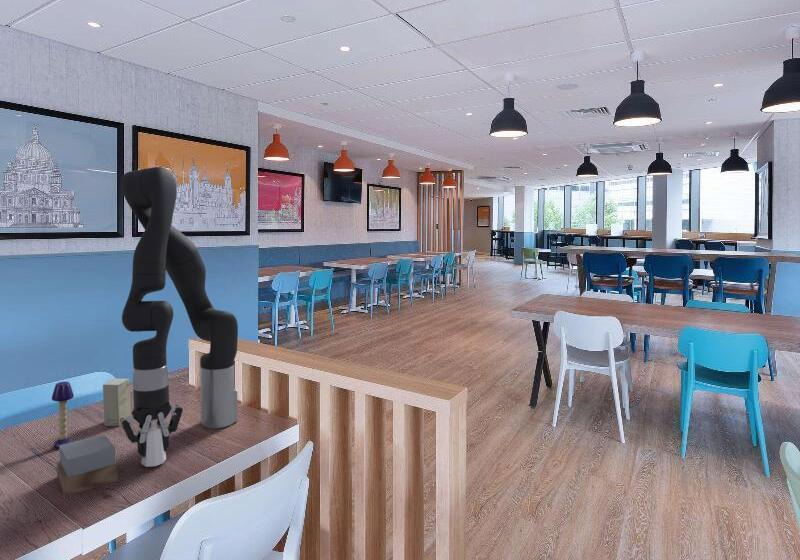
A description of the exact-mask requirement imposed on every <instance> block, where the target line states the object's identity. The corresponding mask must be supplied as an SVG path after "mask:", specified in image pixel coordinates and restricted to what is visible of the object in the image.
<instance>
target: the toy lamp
mask: <svg viewBox="0 0 800 560" xmlns="http://www.w3.org/2000/svg"><path fill="white" fill-rule="evenodd" d="M71 385H72V384H71V383H70V382H69V381H60V382H59V381H58V382H57V383H56V384H55V385H54V388H53V392H52V396H51V400H52V401H54V402H58V410H59V411H58V415H59V417H58V421H59V424H58V428H59V429H58V434H59V435H58V439H57V440H55V442H54V444H53V449H55V450H59V445H63V444H67V443H71V442H74V441H73V439H71V438H70V437H68V433H67V432H68V428H67V427H68V417H67V414H68V410H67V409H68V404H67V403H68V401H70V400H71V399H74V396H75V395H74V392H73V389H72V386H71Z"/></svg>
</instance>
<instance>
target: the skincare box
mask: <svg viewBox="0 0 800 560" xmlns="http://www.w3.org/2000/svg"><path fill="white" fill-rule="evenodd" d="M130 391H131V389H130V378H123V377H122V378H113V379H111V380H110V381H107V382H105V383H104V384H102V393H103V394H102V397H103V417H104V426H105V427H108V426H109V427H120V426H122V425H121V423H120V419H121V418H127V417H128V416H130V415H132V411H131V392H130Z"/></svg>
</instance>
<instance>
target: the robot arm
mask: <svg viewBox="0 0 800 560" xmlns="http://www.w3.org/2000/svg"><path fill="white" fill-rule="evenodd" d="M120 186H121V190H122V194H123V197H124V199H125V200H126V203H127V204H128V206H129V208H130V209H131V211H132V212H133V214H134V215H135V217H136V218H137V220H138V222H139V223H140V224H141V226H142V228H143V229H144V232H143V233H142V235H141V236H140V238H139V241H138V243H137V245H136V247H135V249H134V252H133V257H132V274H131V276H132V277H131V284H130V285H131V286H130V290H129V294H128V297H127V300H126V302H125V304H124V307H123V311H122V314H121V323H122V326H123V327H124V328H125V330H127V331H129V332H133V333H134V332H140V333H141V332H156V333H155V336H154V337H151V338H147V339H144V340H143V339H142V340H140V341H137V342H136V343H134V344H133V345H132V367H133V371H132V391H133V392H132V393H133V394H132V397H133V410H132V411H131V415H130V416H128V417H127V418H121V419H120V423H121V425H120V426H121V427H122V429H123V431H124V433H125V435H126V437H127V438H128V440H129V441H130V442H131V443H132V444H134V443H137V453H138V455H139V456H140V457H141V458H142V457H146V442H145V438H146V434H147V433H148V429H149V428H150V427H151V420H154V419H158V421H157V424H158V425H159V426H160V427H161V429H162V434H163V447H164V451H165V452H166V451H167V449H168V448H169V447H170V440H169V439H170V437H169V436H170V435H171V434H172V433H176V432H177V430H178V427H179V423H180V420H181V416H182V414H183V410H184V409H183V407H181V406H180V405H179V404H176V405H171V403H170V389H169V388H170V387H169V381H170V377H169V370H168V366H167V364H168V363H167V344H168V343H167V342H168V337H169V333H170V330H171V326H172V322H173V319H174V308H173V306H172V304H170V302H168V301H166V300H143V299H144V297H145V296H146V295H148V294H151V293H155V292H159V291H162V290H164V289H165V286H166V276H167V275H168V277H169V279H170V280H171V281H172V283H173V285H174V287H175V289H176V292H177V294H178V296H179V298H180V299H181V302H182V305H183V306H184V308H185V311H186V313H187V317H188V318H189V321H190V325H191V327H192V329H193V331H194V333H195V335H196V336H197V337H198V338H199V339H201V340H202V341H206V342H210V344H209V352H207V353H204V354H203V355H201V357H200V360H199V362H200V364H199V367H200V369H199V372H200V373H199V374H200V415H201V416H200V421H201V422H200V423H201V426H202V427H204V428H207V429H222V428H225V427H228V426H231V425H232V424H234V423H236V422H237V423H238V421H239V420H238V419H239V418H238V416H239V415H238V390H237V389H236V388H235V359H236V356H237V353H238V338H239V337H238V335H239V325H238V320H237V317H236V316H235V315H234V314H233V313H232V312H230V311H225V310H219V309H216V308H215V307H214V305H213V304H212V303H211V301H210V298H209V296H208V295H207V292H206V278H207V273H206V272H207V271H206V266H205V263H204V261H203V258H202V256H201V255H200V252H199V250H198V248H197V246H196V244H195V243H194V242H193V241H191V239H190V238H189V237H187V236H186V235H185V234H183V233H182V232H181V231H180V230H178V229H177V228H176V227H175V226H173V224H172V222H173V218H174V210H175V205H176V201H177V195H178V194H177V193H178V192H177V191H178V190H177V188H178V187H177V182H176V178H175V177H174V175H173V173H172V172H171V171H170V170H169V169H167V168H166V167H163V166H154V167H147V168H141V169H137V170H135V169H134V170H130V171H128V172H125V173H124V174H123V175H122V177H121V180H120ZM166 272H167V273H166ZM169 414H170V415H171V417H170V420H169V423H168V425H167V422H166V419H167V417H168V415H169ZM134 420H135V421H136V422H137V423H138V426H137V434H135V433H134V431H133V429H132V426H133V421H134Z"/></svg>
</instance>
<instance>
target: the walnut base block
mask: <svg viewBox="0 0 800 560" xmlns="http://www.w3.org/2000/svg"><path fill="white" fill-rule="evenodd" d="M56 472H57V480H58V482H59V485H60V488H61V491H62V493H63V496H64V497H66V496H67V497H68V496H70V495H74V494H77V493H80V492H83V491H87V490H90V489H95V488H98V487H101V486H104V485H108V484H111V483H114V482H115V483H116V482H118V481H119V480H118V477H119V476H118V465H117V463H116V464H115V465H112V466H108V467H105V468H101V469H98V470H94V471H91V472H87V473H84V474H80V475H77V476H73V477H70V478H68V476H67V474H66V472H65V471H64V469H63V467H62V465H61V463H60V460H59V461H56Z"/></svg>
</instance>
